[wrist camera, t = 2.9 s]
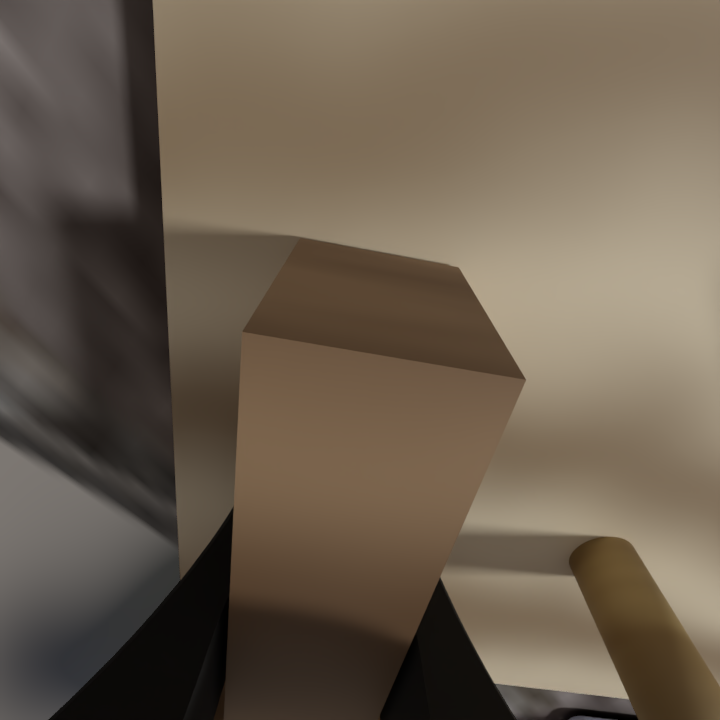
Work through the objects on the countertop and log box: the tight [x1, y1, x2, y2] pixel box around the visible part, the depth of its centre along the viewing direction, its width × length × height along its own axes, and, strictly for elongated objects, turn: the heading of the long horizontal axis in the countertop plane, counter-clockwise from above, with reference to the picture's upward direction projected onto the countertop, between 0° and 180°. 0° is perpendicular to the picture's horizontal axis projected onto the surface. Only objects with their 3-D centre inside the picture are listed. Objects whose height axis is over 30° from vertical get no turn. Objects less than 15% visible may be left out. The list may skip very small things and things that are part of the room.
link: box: [214, 238, 526, 720], centre depth 10 cm, size 14×5×4 cm, turn 170°
